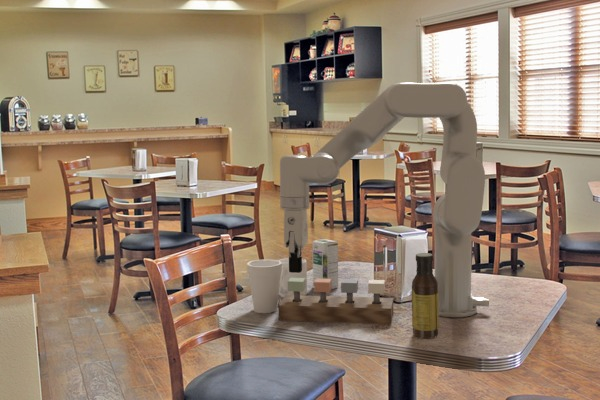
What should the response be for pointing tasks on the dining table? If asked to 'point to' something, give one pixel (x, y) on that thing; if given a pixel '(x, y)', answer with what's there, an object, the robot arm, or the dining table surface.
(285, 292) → the mug
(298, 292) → the sage key
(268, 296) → the foam cup
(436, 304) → the sauce bottle
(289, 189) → the robot arm
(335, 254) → the syrup box
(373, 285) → the cream rectangular block
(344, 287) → the slate-grey key
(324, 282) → the terracotta key
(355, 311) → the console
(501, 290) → the dining table surface
